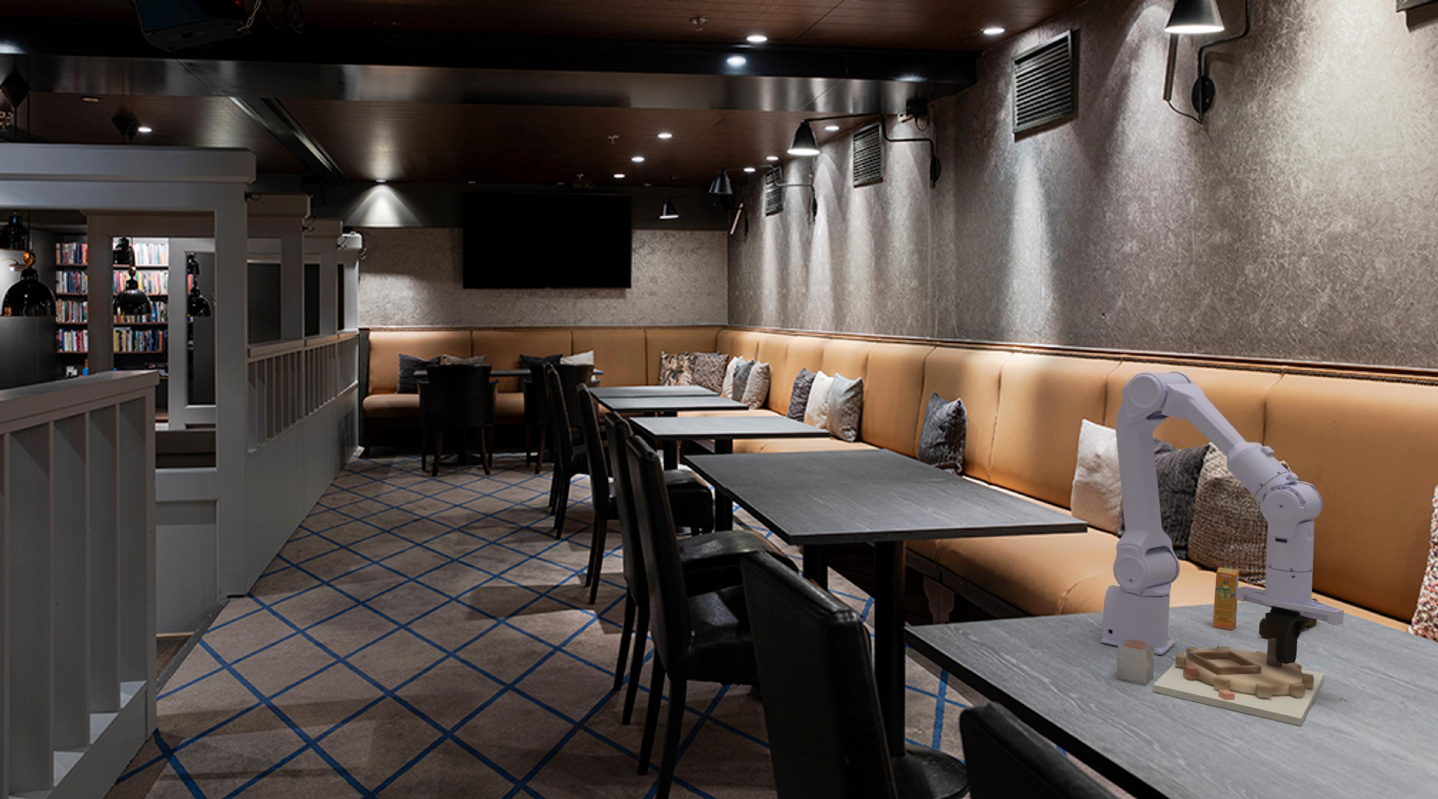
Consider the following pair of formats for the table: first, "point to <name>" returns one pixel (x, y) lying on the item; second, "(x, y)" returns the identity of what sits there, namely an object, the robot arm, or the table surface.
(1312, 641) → the table surface
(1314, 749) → the table surface
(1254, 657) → the sprocket disc
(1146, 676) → the copper-capped metal cube
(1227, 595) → the supplement box
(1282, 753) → the table surface
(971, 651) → the table surface
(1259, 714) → the index plate
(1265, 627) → the dark brown log
